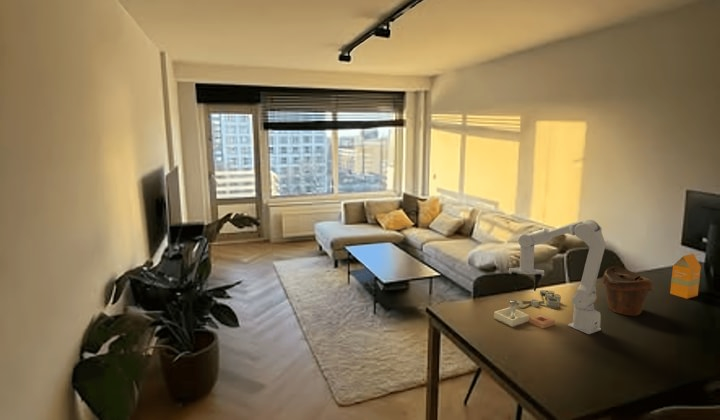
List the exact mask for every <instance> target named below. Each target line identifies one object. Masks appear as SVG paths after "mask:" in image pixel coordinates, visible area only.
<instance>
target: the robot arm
mask: <svg viewBox="0 0 720 420" xmlns="http://www.w3.org/2000/svg"><path fill="white" fill-rule="evenodd" d="M602 230H603V229H602V227H601V225H600V224H599V223H598V222H596V221H595V220H592V219H588V220H585V221H584V220H582V221H576V222H571V223H569V224H565V225H562V226H559V227H556V228H552V229H549V228H545V227H540V228H538V230H535V231H532V230H531V231H528V232H527V233H525V234H522V235H520V236H519V237H518V244H519V246H520V248H519V249H520V252H519V267H509V268H508V274H511V277H512V279H513V281H514V285H515V286H514V287H515V290H518V279H519V278H518V274H520V275H532V276H533V275H534V278H533V280H534V281H533V282H534V283H533V291H534V292H536V291H537V287H538V285H539V283H540V281H541V279H542V277H544V276H545V270H543V269H538V268H537V269H535V267H534V264H535V263H534V262H535V246H536V245H539V244H540V245H541V244H544V243H548V242H551V241H552V239H553V238H554V237H558V236H562V235H566V234H567V235H568V234H570V235H572V236H576V237H577V238H578V239H579V240H581V241H582V242H584V243H585V244H586V245H587V246H588V252H587V257H586V261H585V264H584V269H583V271H582V272H583V273H582V277H581V281H580V284H579V286H578V288H577V289H576V293H575V294H574V295H572V298H571V302H572V304H573V316H572V322H570V323H568V324H567V326H568V327H570V328H572V329H575V330H577V331H580V332H582V333H585V334H587V335H591V334H594V333H596V332H600V331H602V328H601V317H602V316H601V315H602V314H601V312H600V311H598V310H597V309H595V305H594V303H595V302H596V301H597V299H598V297H597V293H596V292H597V287H596V284H597V283H596V282H597V279H598V276H599V272H600V268H601V263H602V260H603V257H604V253H605V249H606V241H605V238H604V235H603V232H602Z"/></svg>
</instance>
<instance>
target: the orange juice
mask: <svg viewBox="0 0 720 420" xmlns="http://www.w3.org/2000/svg"><path fill="white" fill-rule="evenodd" d="M701 271H702V266H701V263H700V262H699V261H698V259H697V257H696V255H695V254H694V253H690V254H685V255H683V256H682V257H681V258H680V259H678V261H676V263H674V264H673V266H672V272H671V273H672V274H671V280H670V291H669V294H671V295H674V296H676V297H681V298H684V299H686V300H687V299H690V298H695V297H697V296H698V295H699V285H700V277H701Z"/></svg>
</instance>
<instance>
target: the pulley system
mask: <svg viewBox="0 0 720 420" xmlns="http://www.w3.org/2000/svg"><path fill="white" fill-rule="evenodd" d="M539 295H540V297H541V300H542V301H540V300H538V299H531V300H516V301H517V305H516V307H518V309H521V310H522V309H525V308H528V307H530V306H531V307H535V308H536V307H537V308H538V307H539V306H541V307H544V308H550V309H558V308H559V307H560V302H561V300H562V295H560V294H558V293H557V294H556V293H555V291H553V290H546V289H545V290H544V289H540V290H539ZM543 295H545V296H544V298H543ZM544 299H545V305H544V304H543V303H544ZM525 304H527V305H525Z"/></svg>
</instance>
